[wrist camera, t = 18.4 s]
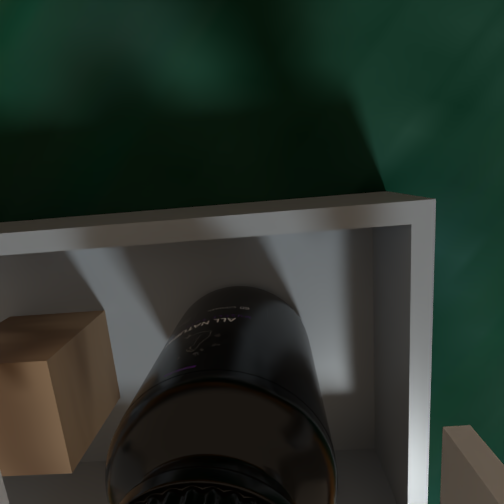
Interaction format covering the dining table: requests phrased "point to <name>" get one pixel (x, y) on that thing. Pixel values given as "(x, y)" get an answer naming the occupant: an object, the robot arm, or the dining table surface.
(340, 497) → the tote
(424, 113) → the dining table surface
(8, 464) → the walnut cube
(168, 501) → the supplement bottle
